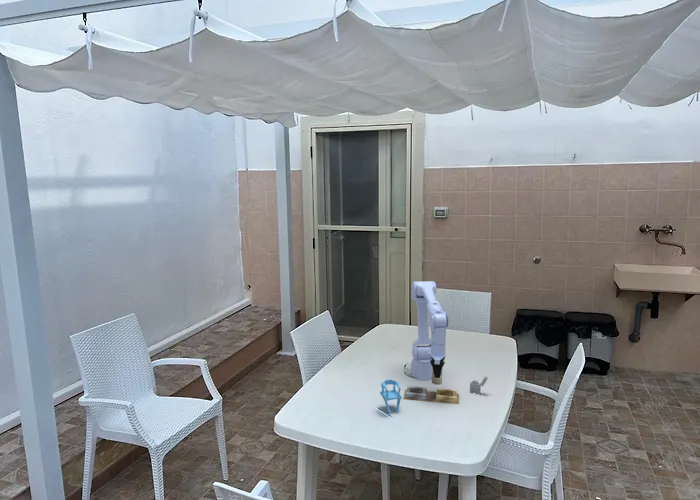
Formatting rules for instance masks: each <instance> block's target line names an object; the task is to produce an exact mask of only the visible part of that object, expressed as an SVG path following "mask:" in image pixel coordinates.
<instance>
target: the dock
mask: <svg viewBox="0 0 700 500" xmlns="http://www.w3.org/2000/svg"><path fill="white" fill-rule="evenodd" d="M402 400H406V401H407V400H408V401H417V402H429V403H441V404H451V405H452V404H453V405H460V394H459V393H458V392H457V389H448V388H436V391H432V390H431V391H430V390H428V387H425V386H415V385H412V386H411V385H407V388H406V389H404V394H403V397H402Z"/></svg>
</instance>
